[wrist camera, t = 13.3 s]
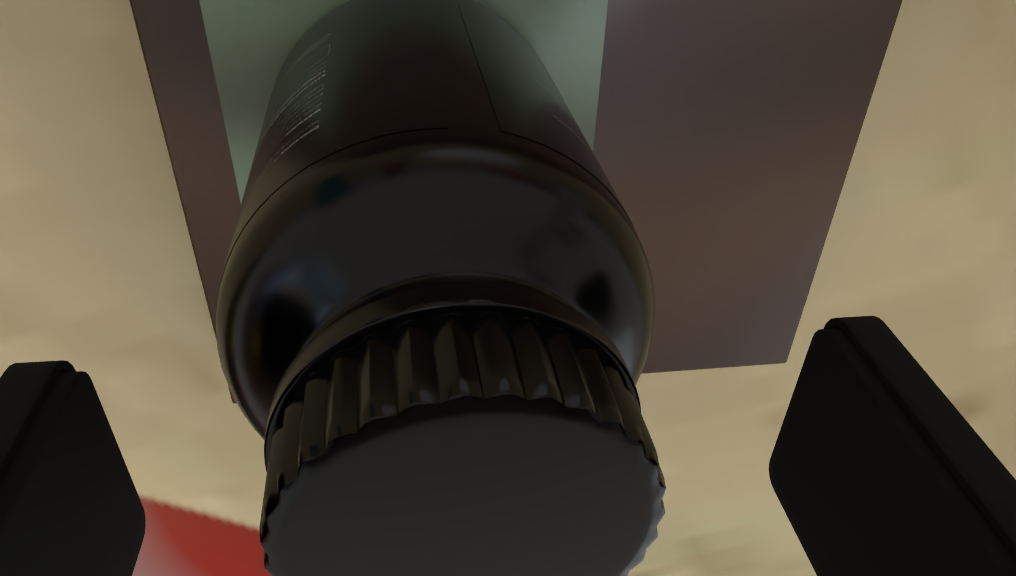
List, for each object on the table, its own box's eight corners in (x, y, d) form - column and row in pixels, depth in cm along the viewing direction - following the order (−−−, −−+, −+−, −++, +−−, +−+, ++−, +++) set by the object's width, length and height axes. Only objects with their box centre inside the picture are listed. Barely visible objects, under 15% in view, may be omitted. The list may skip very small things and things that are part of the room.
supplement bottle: (356, 279, 21) (333, 744, 11) (214, 51, 17) (-17, 470, 7) (590, 187, 20) (785, 597, 10) (500, -73, 16) (682, 200, 6)
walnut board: (4, -683, 12) (-77, -774, 10) (1008, -583, 14) (1118, -642, 12) (244, 351, 25) (231, 409, 23) (756, 318, 27) (789, 367, 25)
